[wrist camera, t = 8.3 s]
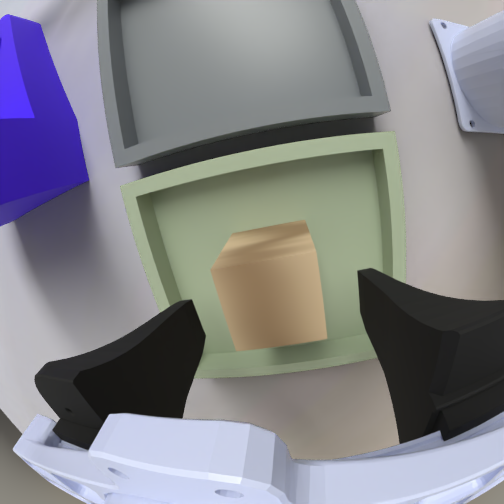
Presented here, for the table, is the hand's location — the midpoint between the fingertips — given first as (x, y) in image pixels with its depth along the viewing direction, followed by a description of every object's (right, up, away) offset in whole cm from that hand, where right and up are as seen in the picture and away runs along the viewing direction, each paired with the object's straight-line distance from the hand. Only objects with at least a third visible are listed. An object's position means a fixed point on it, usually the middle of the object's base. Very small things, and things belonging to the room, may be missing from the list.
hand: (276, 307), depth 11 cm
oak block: (0, +2, +4) cm, 4 cm away
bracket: (-19, +15, +3) cm, 24 cm away
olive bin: (0, +2, +5) cm, 5 cm away
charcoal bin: (-2, +15, +1) cm, 15 cm away
